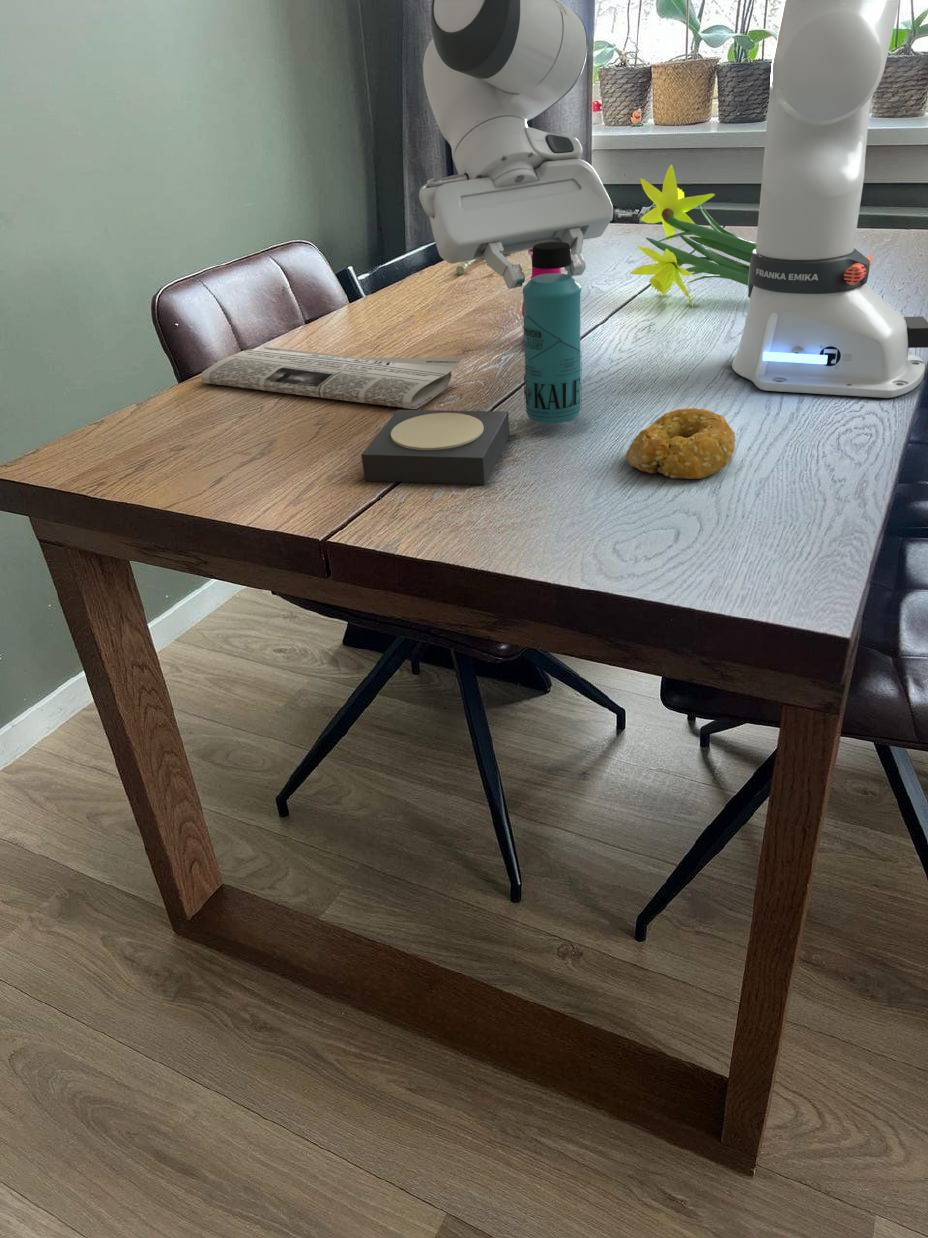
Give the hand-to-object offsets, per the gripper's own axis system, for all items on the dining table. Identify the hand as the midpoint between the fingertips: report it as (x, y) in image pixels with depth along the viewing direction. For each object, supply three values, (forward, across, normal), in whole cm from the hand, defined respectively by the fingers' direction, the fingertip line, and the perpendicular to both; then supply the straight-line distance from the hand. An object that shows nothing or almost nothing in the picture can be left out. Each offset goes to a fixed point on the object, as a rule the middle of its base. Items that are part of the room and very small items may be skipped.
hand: (548, 278), depth 100 cm
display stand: (+12, -15, +11) cm, 22 cm away
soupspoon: (-46, +32, +70) cm, 90 cm away
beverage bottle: (+12, 0, +11) cm, 17 cm away
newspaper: (-10, -16, +33) cm, 38 cm away
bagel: (+24, +5, 0) cm, 24 cm away
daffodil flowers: (-9, +49, +32) cm, 59 cm away
